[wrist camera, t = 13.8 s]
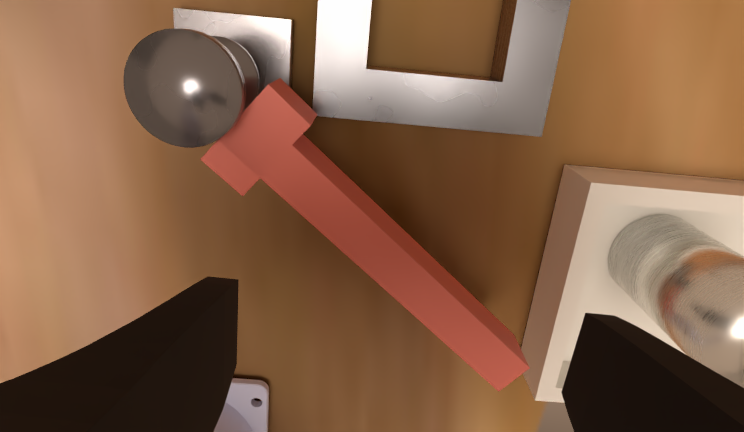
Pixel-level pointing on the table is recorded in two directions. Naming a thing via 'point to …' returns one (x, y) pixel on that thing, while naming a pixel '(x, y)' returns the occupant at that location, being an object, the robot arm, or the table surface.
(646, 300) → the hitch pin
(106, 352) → the robot arm
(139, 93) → the keeper post
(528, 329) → the tray
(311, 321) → the table surface
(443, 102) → the grey flat square ring
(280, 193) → the bar
